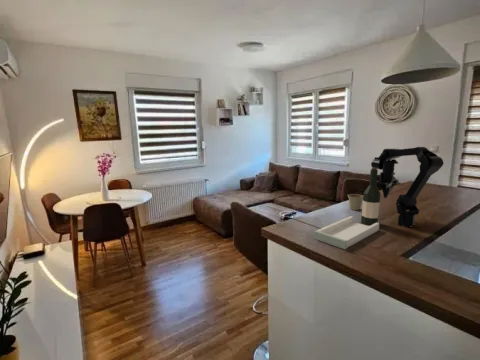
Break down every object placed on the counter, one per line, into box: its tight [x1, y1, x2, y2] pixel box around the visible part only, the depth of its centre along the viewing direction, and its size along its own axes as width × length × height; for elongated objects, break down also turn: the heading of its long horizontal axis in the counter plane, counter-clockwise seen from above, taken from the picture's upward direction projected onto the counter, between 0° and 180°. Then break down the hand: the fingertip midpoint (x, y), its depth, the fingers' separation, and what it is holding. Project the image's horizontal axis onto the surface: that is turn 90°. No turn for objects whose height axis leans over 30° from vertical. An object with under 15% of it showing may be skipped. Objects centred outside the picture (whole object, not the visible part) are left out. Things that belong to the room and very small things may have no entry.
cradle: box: [313, 215, 380, 250], centre depth 129 cm, size 15×34×4 cm, turn 131°
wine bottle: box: [360, 167, 382, 226], centre depth 141 cm, size 8×8×30 cm
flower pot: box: [347, 193, 363, 211], centre depth 169 cm, size 9×9×9 cm
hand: (385, 197), depth 154 cm, fingers closed
